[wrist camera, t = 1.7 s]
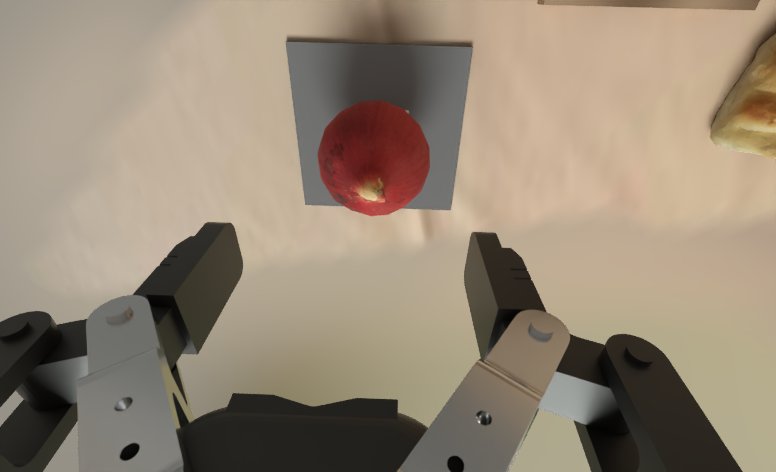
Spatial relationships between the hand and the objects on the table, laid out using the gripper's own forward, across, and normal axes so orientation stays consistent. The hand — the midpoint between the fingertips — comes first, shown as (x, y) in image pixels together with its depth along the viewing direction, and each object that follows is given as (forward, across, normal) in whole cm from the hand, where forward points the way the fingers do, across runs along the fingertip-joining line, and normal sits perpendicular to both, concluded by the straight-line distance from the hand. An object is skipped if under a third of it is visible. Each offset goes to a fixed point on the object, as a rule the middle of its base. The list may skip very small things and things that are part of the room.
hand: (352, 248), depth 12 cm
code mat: (+12, 0, 0) cm, 12 cm away
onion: (+12, 0, 0) cm, 12 cm away
